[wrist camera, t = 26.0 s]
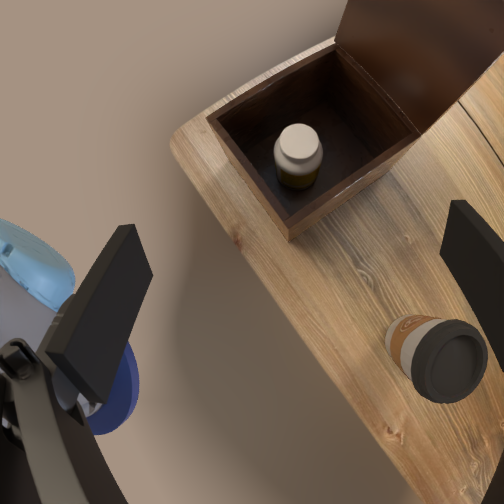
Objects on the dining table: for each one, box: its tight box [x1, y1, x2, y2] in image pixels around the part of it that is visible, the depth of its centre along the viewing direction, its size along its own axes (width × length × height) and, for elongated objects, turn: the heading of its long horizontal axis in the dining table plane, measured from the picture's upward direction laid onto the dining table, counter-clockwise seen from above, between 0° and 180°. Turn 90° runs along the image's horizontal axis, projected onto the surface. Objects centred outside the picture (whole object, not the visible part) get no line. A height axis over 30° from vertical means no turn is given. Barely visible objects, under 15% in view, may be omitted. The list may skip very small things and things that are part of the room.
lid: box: [334, 0, 504, 135], centre depth 18 cm, size 18×14×1 cm
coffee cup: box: [385, 314, 488, 404], centre depth 30 cm, size 8×8×15 cm
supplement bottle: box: [274, 124, 323, 190], centre depth 35 cm, size 5×5×10 cm
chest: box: [206, 43, 422, 242], centre depth 34 cm, size 17×14×13 cm
